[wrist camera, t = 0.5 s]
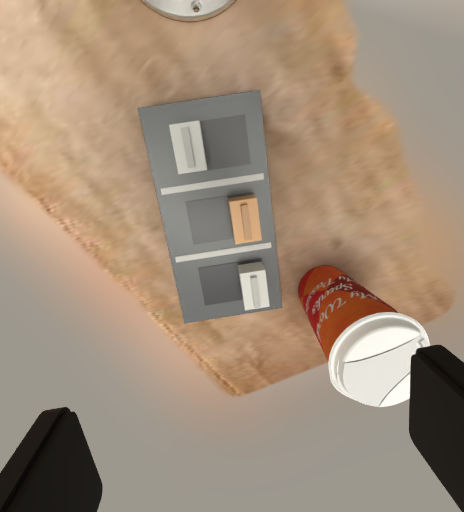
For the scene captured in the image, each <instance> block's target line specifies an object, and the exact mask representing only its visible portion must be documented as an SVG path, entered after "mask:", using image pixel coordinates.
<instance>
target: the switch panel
mask: <svg viewBox="0 0 464 512" xmlns="http://www.w3.org/2000/svg"><path fill="white" fill-rule="evenodd" d="M138 111H139V116H140V120H141V125H142V130H143V134H144V139H145V143H146V148H147V153H148V157H149V162H150V166H151V171H152V176H153V180H154V185H155V189H156V194H157V199H158V203H159V208H160V212H161V217H162V221H163V226H164V231H165V235H166V240H167V244H168V249H169V254H170V258H171V263H172V267H173V272H174V277H175V281H176V286H177V290H178V295H179V300H180V304H181V309H182V313H183V318H184V323H190V322H196V321H203V320H209V319H215V318H221V317H228V316H234V315H240V314H246V313H253V312H259V311H265V310H272V309H278V308H282V300H281V290H280V281H279V271H278V261H277V252H276V242H275V232H274V222H273V213H272V203H271V193H270V183H269V174H268V164H267V154H266V145H265V135H264V125H263V115H262V106H261V96H260V90H256V91H250V92H243V93H236V94H229V95H223V96H216V97H209V98H203V99H196V100H189V101H182V102H176V103H169V104H162V105H155V106H149V107H142V108H138ZM198 120H199V122H200V126H201V132H202V138H203V145H204V151H205V157H206V163H207V170H205V171H198V172H191V173H185V174H178V170H177V164H176V159H175V154H174V149H173V144H172V138H171V133H170V128H169V125H171V124H178V123H185V122H191V121H198ZM251 194H254V195H255V196H256V197H257V203H258V212H259V220H260V229H261V237H262V240H260V241H254V242H248V243H241V244H235V241H234V237H233V230H232V223H231V216H230V209H229V202H228V198H232V197H238V196H245V195H251ZM254 262H262V264H263V266H264V268H265V271H266V280H267V288H268V297H269V306H270V307H264V308H258V309H251V310H245V308H244V303H243V298H242V291H241V284H240V278H239V271H238V265H242V264H248V263H254Z"/></svg>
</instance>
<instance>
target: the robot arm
mask: <svg viewBox="0 0 464 512" xmlns="http://www.w3.org/2000/svg"><path fill="white" fill-rule="evenodd" d="M141 1H142V2H144V3H145V4H146V5H147V6H148V7H149V8H151V9H152V10H154V11H156V12H157V13H159V14H161V15H163V16H165V17H168V18H171V19H174V20H179V21H187V22H191V21H202V20H205V19H208V18H211V17H214V16H216V15H217V14H219V13H221V12H222V11H224V10H226V9H227V8H228V7H229V6H230V5H231V4H232V3H233V2H235V1H236V0H141ZM194 8H198V9H199V12H194ZM409 433H410V436H411V439H412V441H413V443H414V445H415V446H416V447H417V449H418V450H419V452H420V453H421V455H422V456H423V457H424V459H425V460H426V462H427V463H428V465H429V466H430V467H431V469H432V470H433V472H434V473H435V474H436V476H437V477H438V479H439V480H440V481H441V483H442V484H443V486H444V487H445V488H446V490H447V491H448V493H449V494H450V495H451V497H452V498H453V500H454V501H455V503H456V504H457V505H458V507H459V508H460V510H461V511H462V512H464V363H463V362H462V361H461V360H460V359H458V358H457V357H456V356H455V355H453V354H452V353H451V352H450V351H449V350H447V349H446V348H445V347H443V346H442V345H433V346H427V347H421V348H418V349H417V350H416V353H415V354H414V355H412V356H411V365H410V407H409ZM101 496H102V482H101V479H100V477H99V474H98V471H97V468H96V466H95V463H94V460H93V458H92V455H91V452H90V449H89V447H88V444H87V441H86V439H85V436H84V433H83V430H82V428H81V425H80V423H79V420H78V417H77V415H76V413H75V412H71V411H70V409H68V408H67V407H63V408H57V409H51V410H45V411H43V412H42V413H41V414H40V415H39V416H38V418H37V419H36V421H35V423H34V424H33V425H32V427H31V428H30V430H29V431H28V433H27V434H26V436H25V437H24V439H23V440H22V442H21V443H20V445H19V446H18V448H17V449H16V451H15V452H14V454H13V455H12V457H11V458H10V459H9V461H8V462H7V464H6V465H5V467H4V468H3V470H2V471H1V473H0V512H97V510H98V506H99V503H100V500H101Z"/></svg>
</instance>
